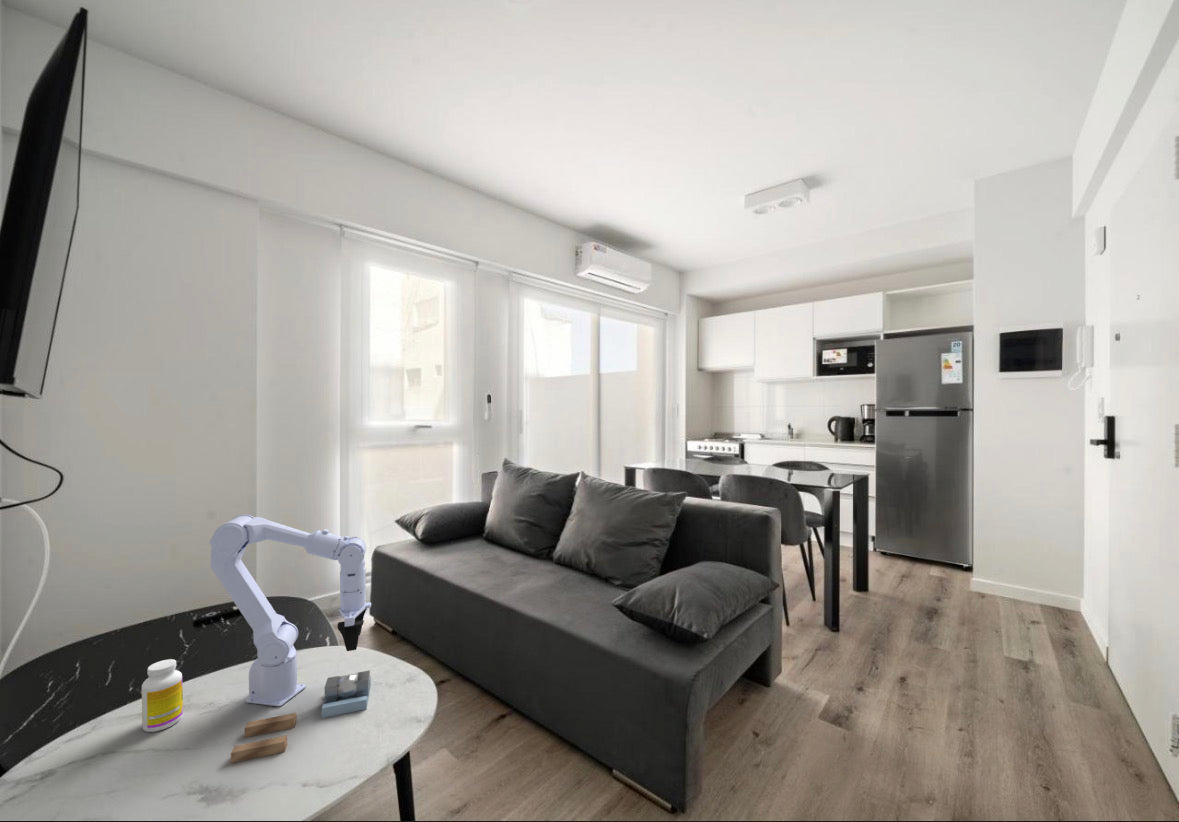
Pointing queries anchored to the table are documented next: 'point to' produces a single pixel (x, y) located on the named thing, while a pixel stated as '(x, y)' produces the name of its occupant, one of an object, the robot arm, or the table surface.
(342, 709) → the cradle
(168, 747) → the table surface
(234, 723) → the table surface
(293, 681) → the robot arm
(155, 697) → the supplement bottle
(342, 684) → the silver boxy piece
